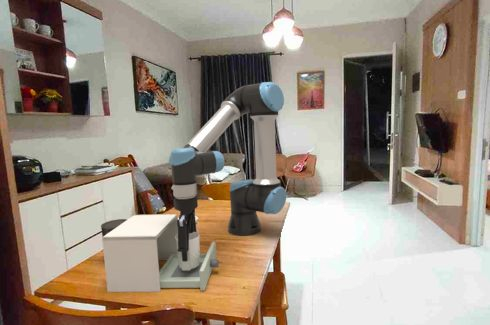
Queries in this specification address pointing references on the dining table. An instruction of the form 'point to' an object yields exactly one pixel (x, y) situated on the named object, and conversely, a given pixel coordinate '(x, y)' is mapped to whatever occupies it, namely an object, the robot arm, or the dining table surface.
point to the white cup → (191, 249)
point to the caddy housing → (139, 252)
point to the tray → (188, 271)
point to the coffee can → (111, 226)
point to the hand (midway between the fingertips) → (189, 263)
